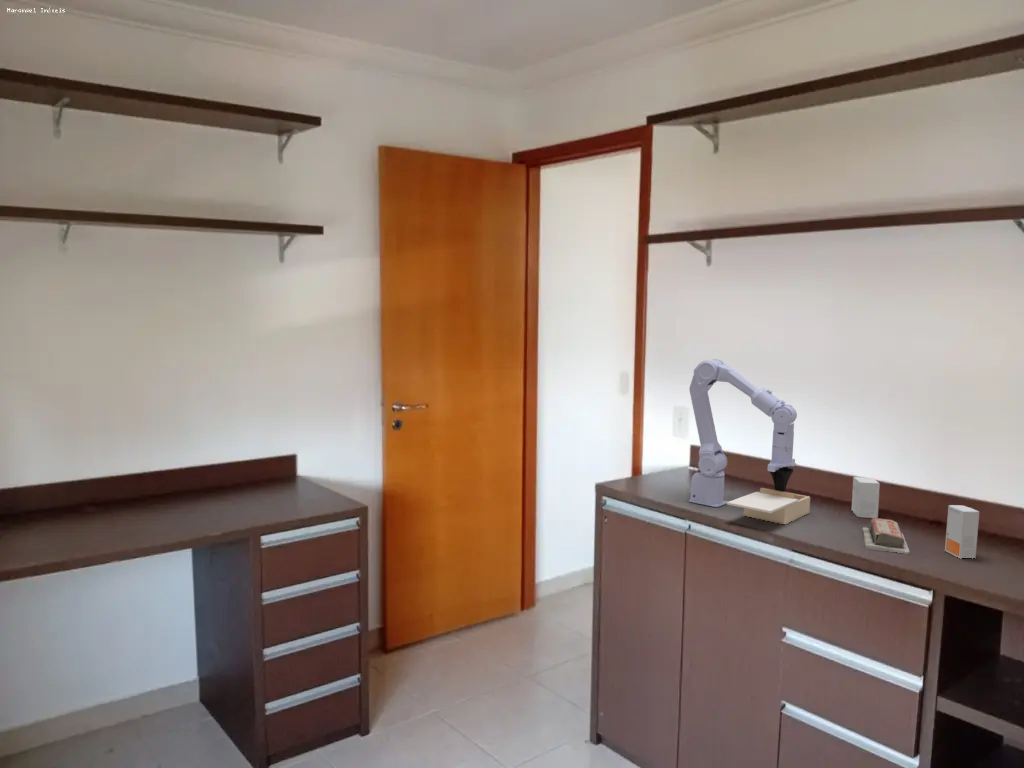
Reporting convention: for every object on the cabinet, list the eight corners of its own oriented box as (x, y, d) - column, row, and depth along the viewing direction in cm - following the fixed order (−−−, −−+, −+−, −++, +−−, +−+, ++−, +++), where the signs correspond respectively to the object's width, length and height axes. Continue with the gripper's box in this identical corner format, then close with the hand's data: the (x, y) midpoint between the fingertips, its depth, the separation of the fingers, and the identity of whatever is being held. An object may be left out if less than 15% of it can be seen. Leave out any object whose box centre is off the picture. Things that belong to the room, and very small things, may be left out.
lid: (726, 504, 213) (727, 497, 213) (757, 493, 228) (757, 486, 228) (770, 513, 205) (770, 506, 205) (799, 501, 219) (799, 494, 219)
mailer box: (743, 516, 221) (744, 499, 221) (770, 505, 235) (770, 489, 234) (784, 525, 213) (785, 507, 213) (809, 513, 227) (810, 496, 226)
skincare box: (943, 551, 192) (947, 504, 191) (959, 551, 193) (963, 504, 192) (959, 559, 186) (963, 511, 185) (976, 559, 187) (980, 511, 186)
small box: (877, 519, 222) (880, 483, 221) (857, 517, 223) (859, 482, 222) (870, 512, 230) (873, 477, 229) (850, 510, 231) (853, 476, 230)
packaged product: (863, 514, 209) (903, 519, 205) (861, 532, 210) (902, 537, 206) (866, 532, 192) (911, 537, 189) (865, 551, 193) (909, 556, 189)
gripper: (785, 451, 215) (782, 499, 216) (806, 445, 226) (803, 491, 227) (761, 448, 220) (759, 494, 221) (782, 442, 230) (780, 486, 232)
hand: (779, 492), depth 224 cm, fingers closed
